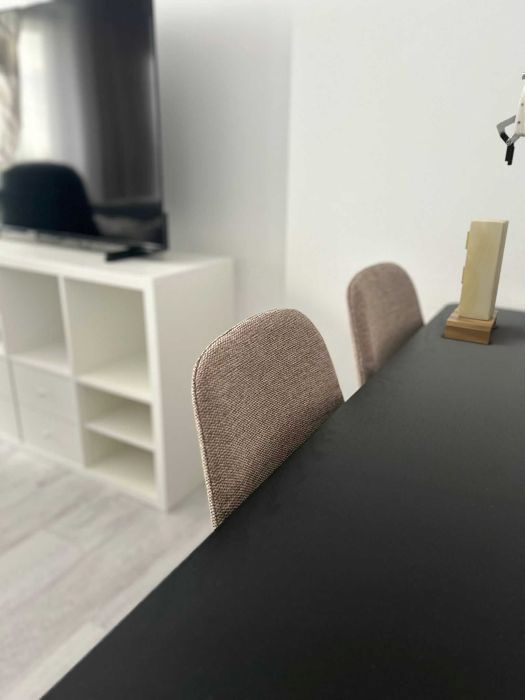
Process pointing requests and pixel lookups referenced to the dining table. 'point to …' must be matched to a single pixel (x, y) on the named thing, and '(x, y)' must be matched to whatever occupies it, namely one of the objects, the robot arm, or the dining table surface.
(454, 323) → the oak shelf
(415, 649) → the dining table surface
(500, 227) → the toy refrigerator
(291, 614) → the dining table surface
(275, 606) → the dining table surface
